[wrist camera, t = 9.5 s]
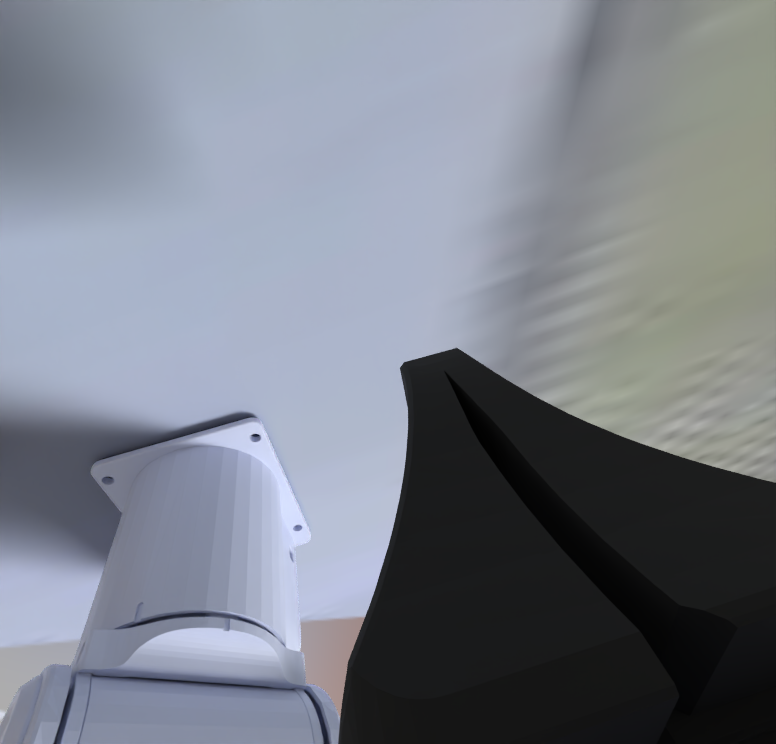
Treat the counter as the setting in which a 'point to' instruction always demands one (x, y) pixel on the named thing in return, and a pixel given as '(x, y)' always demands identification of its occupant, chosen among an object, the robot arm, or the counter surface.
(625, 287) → the counter surface
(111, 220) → the counter surface
